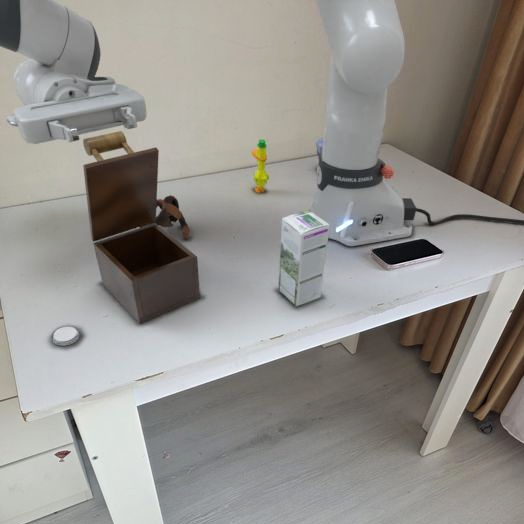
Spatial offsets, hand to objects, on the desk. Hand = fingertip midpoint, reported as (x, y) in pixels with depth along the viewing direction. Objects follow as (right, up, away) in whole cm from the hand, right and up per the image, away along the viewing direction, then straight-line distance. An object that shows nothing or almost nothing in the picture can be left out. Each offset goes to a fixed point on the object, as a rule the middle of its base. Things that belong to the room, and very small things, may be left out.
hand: (104, 129), depth 73 cm
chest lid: (+2, -9, +5) cm, 10 cm away
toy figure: (+23, +5, +44) cm, 50 cm away
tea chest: (+4, -23, +13) cm, 27 cm away
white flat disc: (-7, -31, +3) cm, 32 cm away
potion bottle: (+41, +13, +53) cm, 69 cm away
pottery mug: (+4, -9, +28) cm, 30 cm away
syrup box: (+30, -23, +14) cm, 41 cm away
